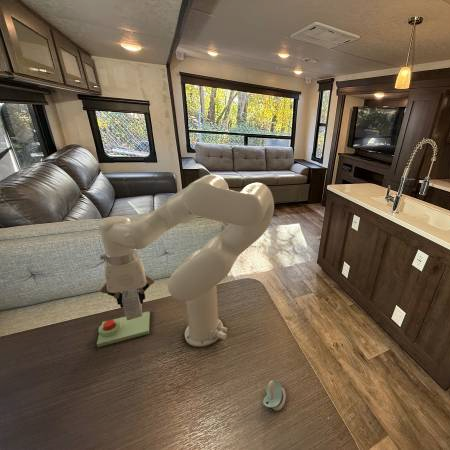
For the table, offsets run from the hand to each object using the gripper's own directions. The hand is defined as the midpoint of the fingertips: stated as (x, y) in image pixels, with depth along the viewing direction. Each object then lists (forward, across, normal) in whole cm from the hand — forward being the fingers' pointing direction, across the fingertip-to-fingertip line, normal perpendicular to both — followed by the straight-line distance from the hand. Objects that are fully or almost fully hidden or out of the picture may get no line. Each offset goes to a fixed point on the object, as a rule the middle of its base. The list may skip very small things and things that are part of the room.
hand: (132, 302), depth 82 cm
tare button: (+8, -7, 0) cm, 11 cm away
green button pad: (+11, -3, 0) cm, 11 cm away
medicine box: (+4, 0, 0) cm, 4 cm away
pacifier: (+10, +35, -42) cm, 56 cm away
